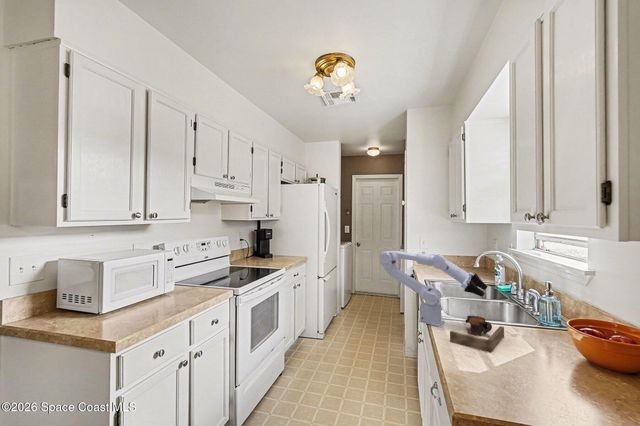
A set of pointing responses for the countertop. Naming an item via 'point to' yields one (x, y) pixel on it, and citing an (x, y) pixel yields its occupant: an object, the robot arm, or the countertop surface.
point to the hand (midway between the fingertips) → (484, 291)
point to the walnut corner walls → (478, 340)
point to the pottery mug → (478, 325)
